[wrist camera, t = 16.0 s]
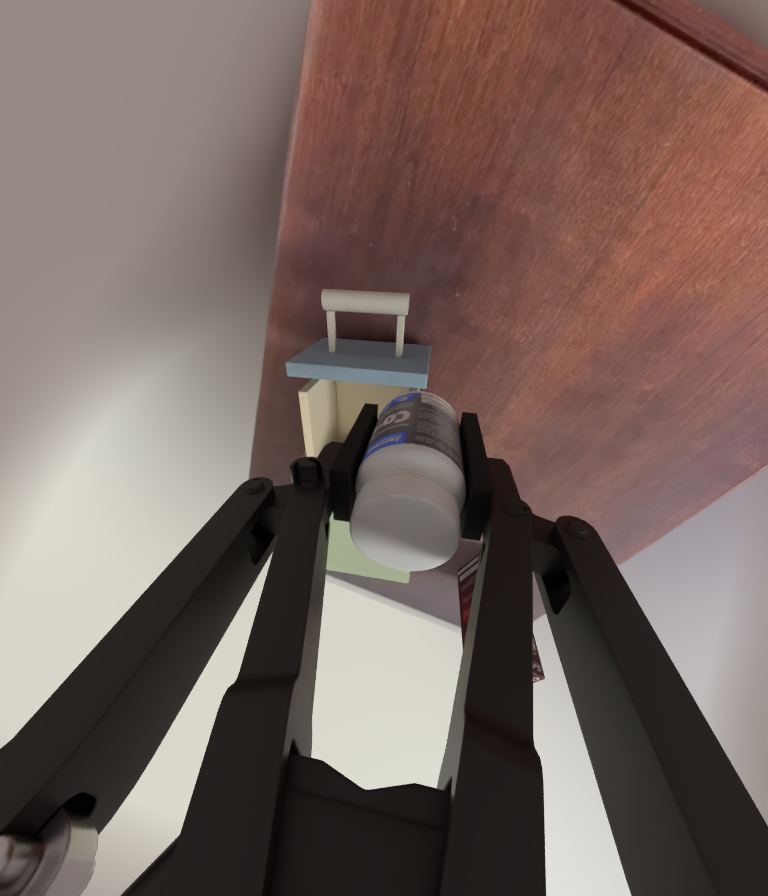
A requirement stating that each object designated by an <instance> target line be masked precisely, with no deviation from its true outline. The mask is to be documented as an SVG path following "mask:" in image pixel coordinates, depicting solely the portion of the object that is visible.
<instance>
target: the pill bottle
mask: <svg viewBox="0 0 768 896" xmlns="http://www.w3.org/2000/svg"><path fill="white" fill-rule="evenodd" d="M466 493H467V491H466V479H465V471H464V461H463V453H462V445H461V435H460V427H459V422H458V418H457V415H456V413H455V411H454V410H453V408H452V407H451V406H450V405H449V404H448V403H447V402H446V401H445V400H444V399H442V398H441V397H439V396H437V395H435V394H433V393H429V392H424V391H412V392H407V393H403V394H400V395H398V396H396V397H395V398H393V399H392V400H391V401H390V402H389V403H388V404H387V405H386V406H385V407H384V409H383V410H382V412H381V414H380V416H379V418H378V421H377V424H376V426H375V428H374V431H373V433H372V436H371V438H370V441H369V444H368V446H367V449H366V452H365V454H364V456H363V459H362V461H361V463H360V466H359V468H358V471H357V475H356V479H355V495H356V500H355V504H354V508H353V511H352V515H351V518H350V525H349V529H350V535H351V538H352V540H353V543H354V544H355V546H356V547H357V548H358V549H359V550H360V551H361V552H362V553H363V554H364V555H365V556H366V557H367V558H369V559H370V560H372V561H374V562H376V563H377V564H380V565H382V566H385V567H388V568H392V569H396V570H401V571H423V570H428V569H432V568H435V567H437V566H439V565H441V564H443V563H445V562H446V561H448V560H449V559H450V558H451V557H452V556H453V555H454V554H455V552H456V551H457V548H458V546H459V542H460V519H459V514H460V513H461V511H462V509H463V507H464V504H465V500H466Z"/></svg>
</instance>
